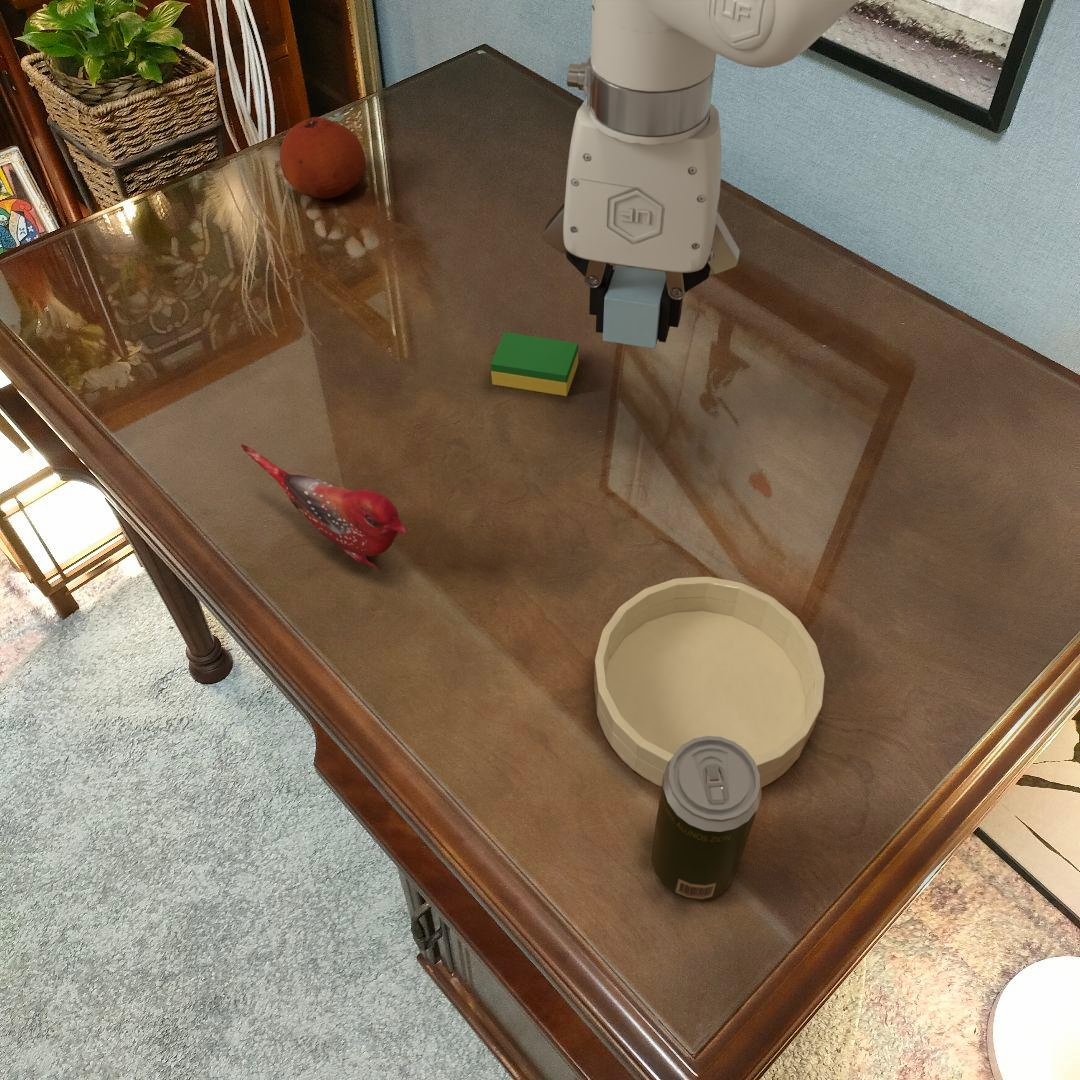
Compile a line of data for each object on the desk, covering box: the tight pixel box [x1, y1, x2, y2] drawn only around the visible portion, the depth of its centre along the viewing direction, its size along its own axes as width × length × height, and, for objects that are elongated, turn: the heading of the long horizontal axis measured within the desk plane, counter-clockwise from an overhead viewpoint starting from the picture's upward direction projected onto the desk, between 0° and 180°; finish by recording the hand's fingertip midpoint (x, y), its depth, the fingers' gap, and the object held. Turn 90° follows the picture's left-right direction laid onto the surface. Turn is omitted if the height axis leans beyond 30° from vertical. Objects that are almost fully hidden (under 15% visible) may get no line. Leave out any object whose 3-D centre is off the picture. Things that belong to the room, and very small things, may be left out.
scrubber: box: [490, 331, 579, 397], centre depth 92 cm, size 7×4×2 cm, turn 76°
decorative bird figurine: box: [240, 444, 408, 571], centre depth 77 cm, size 3×18×10 cm, turn 53°
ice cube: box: [602, 264, 666, 349], centre depth 76 cm, size 4×4×4 cm
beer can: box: [651, 736, 763, 902], centre depth 60 cm, size 5×5×12 cm
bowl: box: [593, 576, 826, 789], centre depth 70 cm, size 15×15×4 cm
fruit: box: [279, 116, 367, 200], centre depth 110 cm, size 9×9×8 cm
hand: (634, 323), depth 77 cm, fingers closed on ice cube, 4 cm apart
